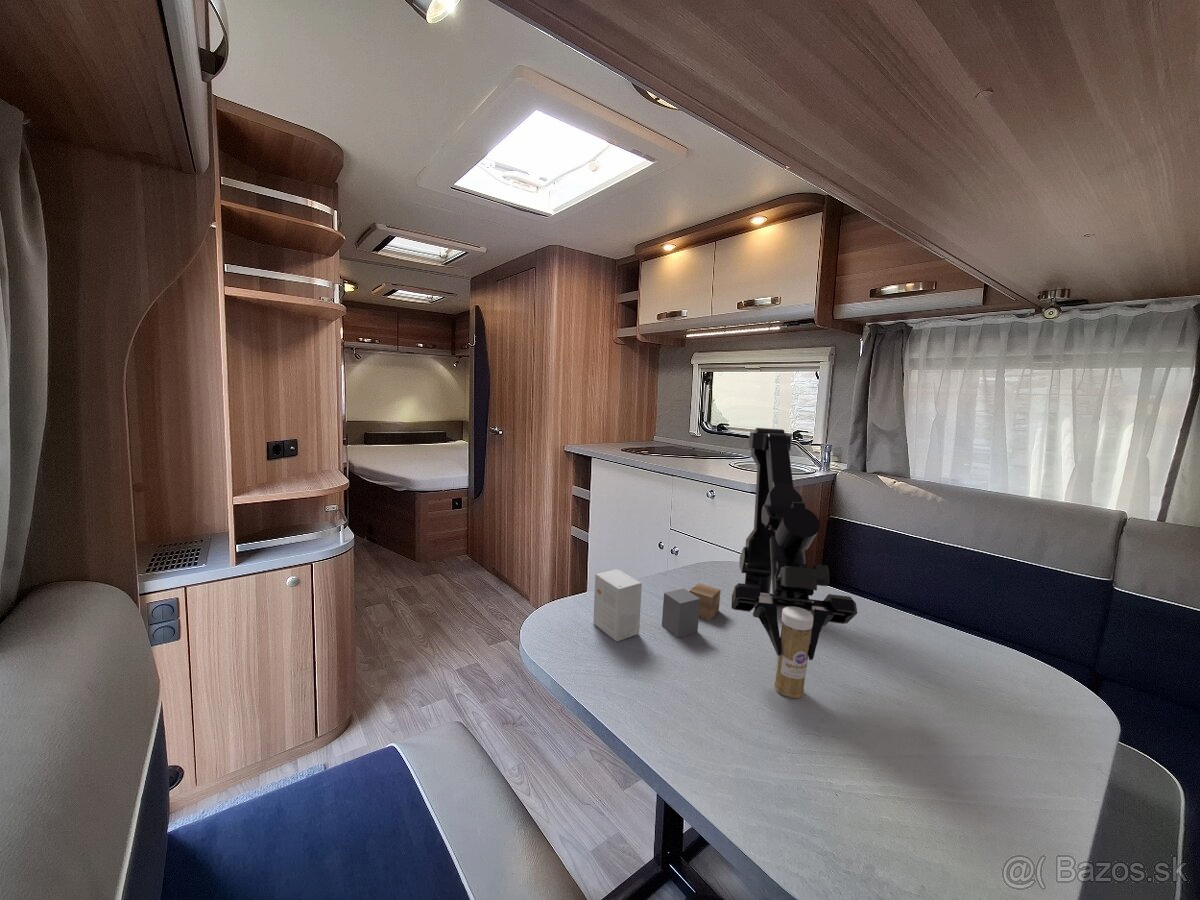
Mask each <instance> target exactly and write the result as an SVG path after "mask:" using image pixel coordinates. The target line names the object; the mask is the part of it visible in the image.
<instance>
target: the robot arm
mask: <svg viewBox="0 0 1200 900" xmlns="http://www.w3.org/2000/svg"><path fill="white" fill-rule="evenodd" d="M792 437H793V435H792V434H787V433H786V432H785V430H784V429H781V428H780V429H778V428H765V427H756V428H755V430H754V431H751V432H750V433H749V437H748V448H750V456H751V457H752V459H753V461H754V462H755V465H756V466H757V467H756V468H757V469H756V470H757V471H756V483H755V486H756V487H755V500H754V501H755V502H754V520H753V530H752V531H751V532H750V533H749V535H748V536H747V538H746V539H745V546H743V547H742V550H741V553H740V555H739V562H738V563H739V564H738V565H739V569H740V572H741V574H745V579H744V583H742V582H741V583H740V582H739V583H737V584H736V585H735V586H734V589H733V591H732V594H731V609H733V610H734V611H742V612H751V611H752V610H753V613H752V617H753V618H756V619H757V618H758V619H759V621H760V623H761V625H762V627H763V628H764V630H765V632H766V633H767V636H768V638H769V640H770V642H771V644H772V646H773V649H774V651H775V653H776V655H777V657H778V656H780V655H781V641H780V636H781V633H780V631H779V630H780V628H779V622H778V608H779V609H781V608H782V609H784V608H785V607H789V606H794V607H800V608H803V609H805V610H807V611H809V612H810V613H811V614H812V615H813V627H812V628H811V632H810V641H809V650H808V660H809V661H812V660H814V658H815V653H816V650H817V645H818V642H819V641H818V640H819V637H820V634H821V631H822V629H823V627H824V626H827V624H828V623H831V624H832V623H833V624H840V625H845V624H848V623H850V621H851V620H852V619H853V618H854V617H856V616H857V614H858V609H857V608H858V607H857V603H856V601H855V600H854V599H853V598H852V597H851V596H849V595H839V594H831V593H828V594H827V595H826V596H825V598H824V600H820V599H813V598H812V599H810V596H813V595H814V594H815V591H818V586H820V587H827V586H828V587H829V586H830V572H829V566H828V565H824V564H814V565H812V568H809V566H808V563H806V554H805V551H807V550H808V549H809V548H810V546H811V544H812V543H813V541H814V539H815V538H816V535H817V534H818V533H819V531H820V528H821V523H820V520H819V518H818V517H817V515H816V514H815V513H814V512H812V511H811V510H809V509H808V508H806V503H805V502H804V499H803V496H802V495H801V494H800V493H799V492H798V491H797V490H796V489H795V487H794V479H793V473H792V464H791V458H790V452H791V450H792V449H791V448H792V440H793V439H792ZM771 590H772V591H771ZM771 592H772V593H771Z"/></svg>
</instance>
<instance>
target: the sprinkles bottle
mask: <svg viewBox="0 0 1200 900" xmlns="http://www.w3.org/2000/svg"><path fill="white" fill-rule="evenodd" d="M812 627H813V615H812V614H811V613H810V612H809V611H807V610H805V609H803V608H800V607H794V606H789V607H785V608H782V612H781V629H780V641H781V655H780V656H778V655H777V657H776V658H777V660H776V672H775V673H776V674H775V681H774V685H773V686H774V689H775V690H776V692H778V693H779V694H780V693H781V695H782V696H785V697H787V698H790V699H800V698H802V697H803V696H804V694H805V688H804V687H805V680H806V676H807V670H808V669H807V668H808V660H809V657H808V650H809V641H810V632H811V628H812Z"/></svg>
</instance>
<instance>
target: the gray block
mask: <svg viewBox="0 0 1200 900" xmlns="http://www.w3.org/2000/svg"><path fill="white" fill-rule="evenodd" d="M699 609H700V598H698V597H697V596H695V595H694V594H692V593H690V592H689V590H687V589H685V588H684V587H683V588H680V589H674V590H670V591H665V592H663V603H662V617H661V627H663V628H664V629H665V630H667V631H668V632H669V633H670V634H672V635H673V636H675V638H682V637H685V636H688V635H693V634H696V633H698V632H699V620H700V616H699Z"/></svg>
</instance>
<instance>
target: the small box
mask: <svg viewBox="0 0 1200 900" xmlns="http://www.w3.org/2000/svg"><path fill="white" fill-rule="evenodd" d="M642 584H643V583H642V582H640V581H639V580H637V579H636V578H633V577H632V576H630V575H628V574H626V573H625V572H623V571H621V570H620V569H612V570H608V571H603V572H599V573H596V574H595V576H594V599H593V600H594V603H593V621H592V623H593V625H595V626H596V627H597V628H599V629H600V630H601V631H602V632H603V633H605V634H606V635H607V636H609V637H610V638H611V639H613V640H614V641H615V642H617V643H618V642H620V641H622V640H626V639H628V638H631V637H634V636H637V635H639V634H640V623H641V607H642V606H641V605H642V603H641V602H642Z"/></svg>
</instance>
